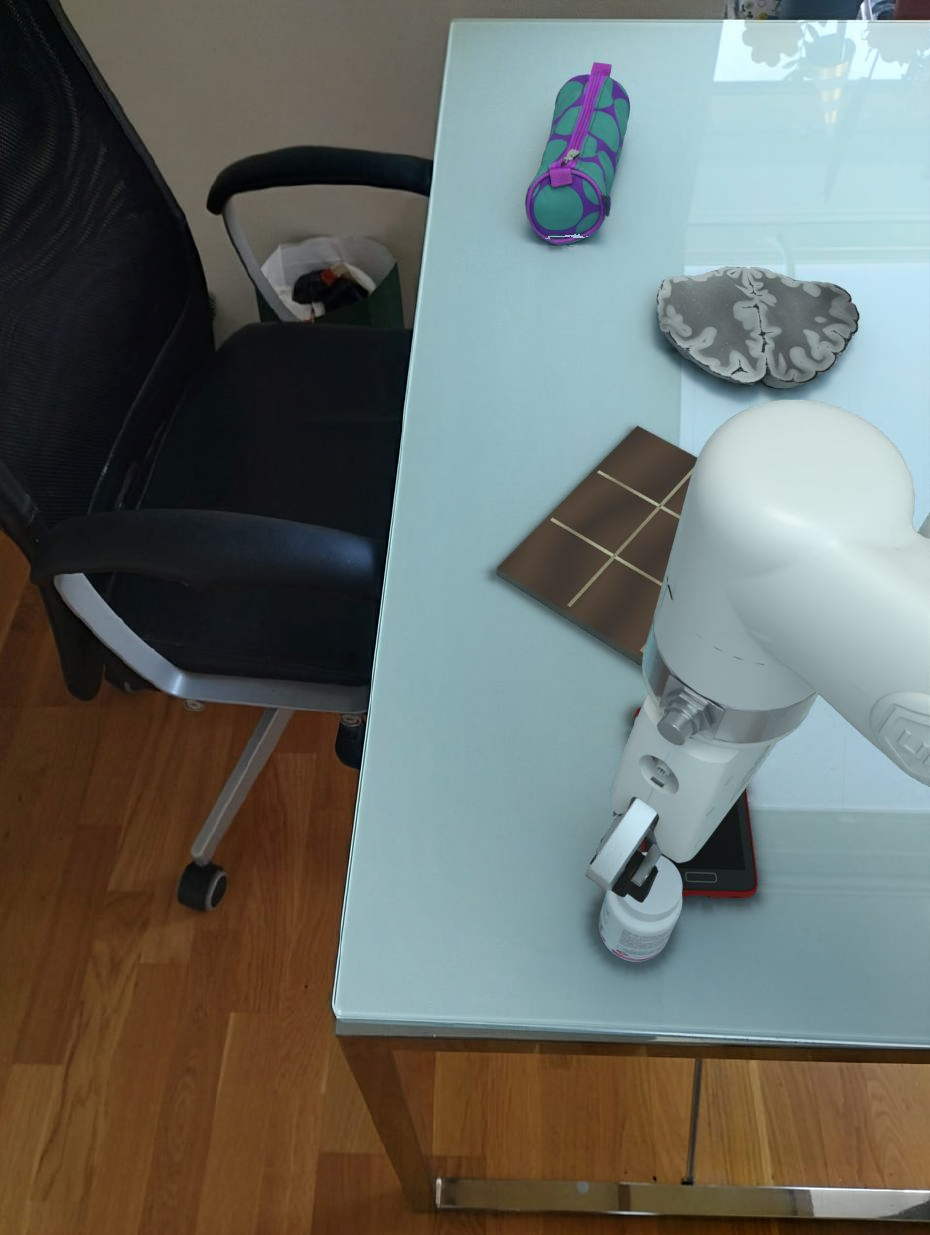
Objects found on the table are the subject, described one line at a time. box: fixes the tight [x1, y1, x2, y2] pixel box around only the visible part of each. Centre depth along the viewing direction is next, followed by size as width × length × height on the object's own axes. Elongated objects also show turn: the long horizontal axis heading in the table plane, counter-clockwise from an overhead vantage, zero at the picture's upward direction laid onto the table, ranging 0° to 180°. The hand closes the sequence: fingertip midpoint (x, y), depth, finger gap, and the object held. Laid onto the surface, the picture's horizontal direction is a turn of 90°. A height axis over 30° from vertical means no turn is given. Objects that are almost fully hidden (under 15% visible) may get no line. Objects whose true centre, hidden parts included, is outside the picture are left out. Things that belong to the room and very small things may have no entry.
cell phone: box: [633, 706, 759, 900], centre depth 76 cm, size 8×15×1 cm, turn 178°
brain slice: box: [656, 266, 861, 389], centre depth 103 cm, size 20×17×3 cm
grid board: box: [496, 425, 698, 667], centre depth 89 cm, size 21×21×1 cm
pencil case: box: [524, 61, 631, 246], centre depth 115 cm, size 21×9×10 cm, turn 168°
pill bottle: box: [598, 852, 683, 963], centre depth 68 cm, size 5×5×8 cm
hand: (669, 817), depth 59 cm, fingers open, 9 cm apart
